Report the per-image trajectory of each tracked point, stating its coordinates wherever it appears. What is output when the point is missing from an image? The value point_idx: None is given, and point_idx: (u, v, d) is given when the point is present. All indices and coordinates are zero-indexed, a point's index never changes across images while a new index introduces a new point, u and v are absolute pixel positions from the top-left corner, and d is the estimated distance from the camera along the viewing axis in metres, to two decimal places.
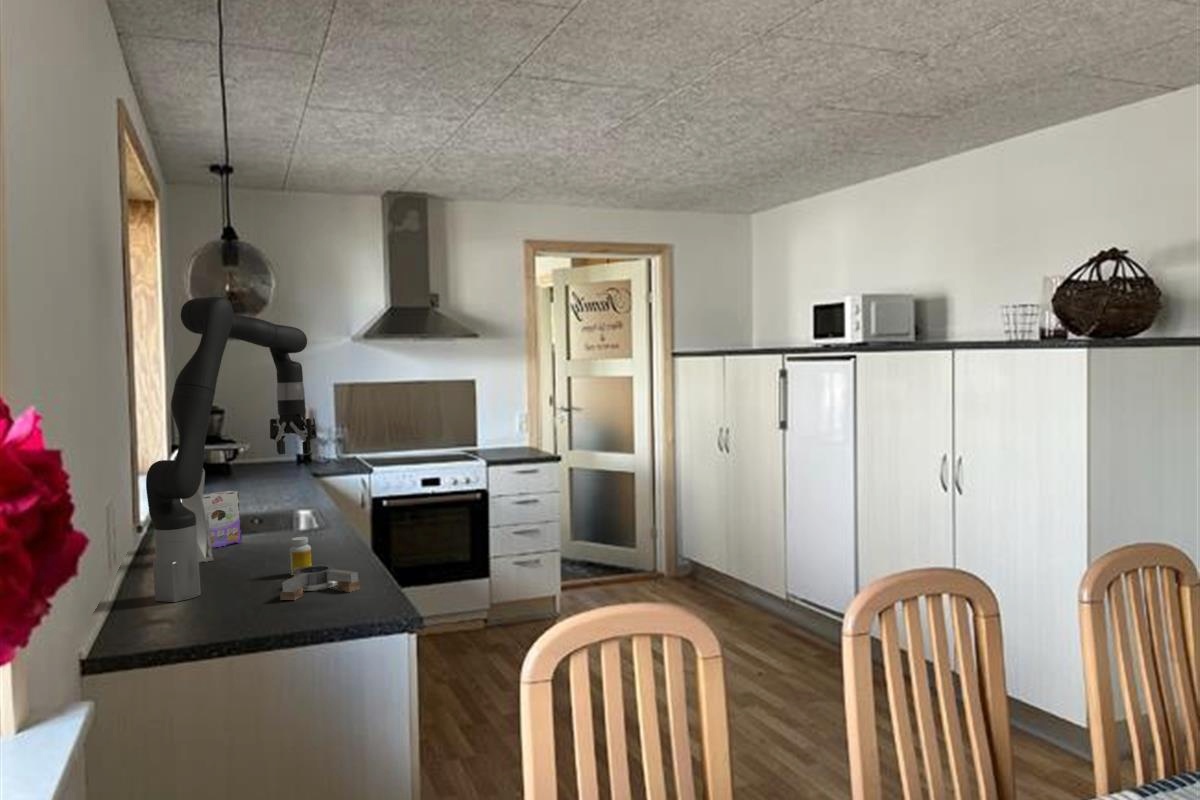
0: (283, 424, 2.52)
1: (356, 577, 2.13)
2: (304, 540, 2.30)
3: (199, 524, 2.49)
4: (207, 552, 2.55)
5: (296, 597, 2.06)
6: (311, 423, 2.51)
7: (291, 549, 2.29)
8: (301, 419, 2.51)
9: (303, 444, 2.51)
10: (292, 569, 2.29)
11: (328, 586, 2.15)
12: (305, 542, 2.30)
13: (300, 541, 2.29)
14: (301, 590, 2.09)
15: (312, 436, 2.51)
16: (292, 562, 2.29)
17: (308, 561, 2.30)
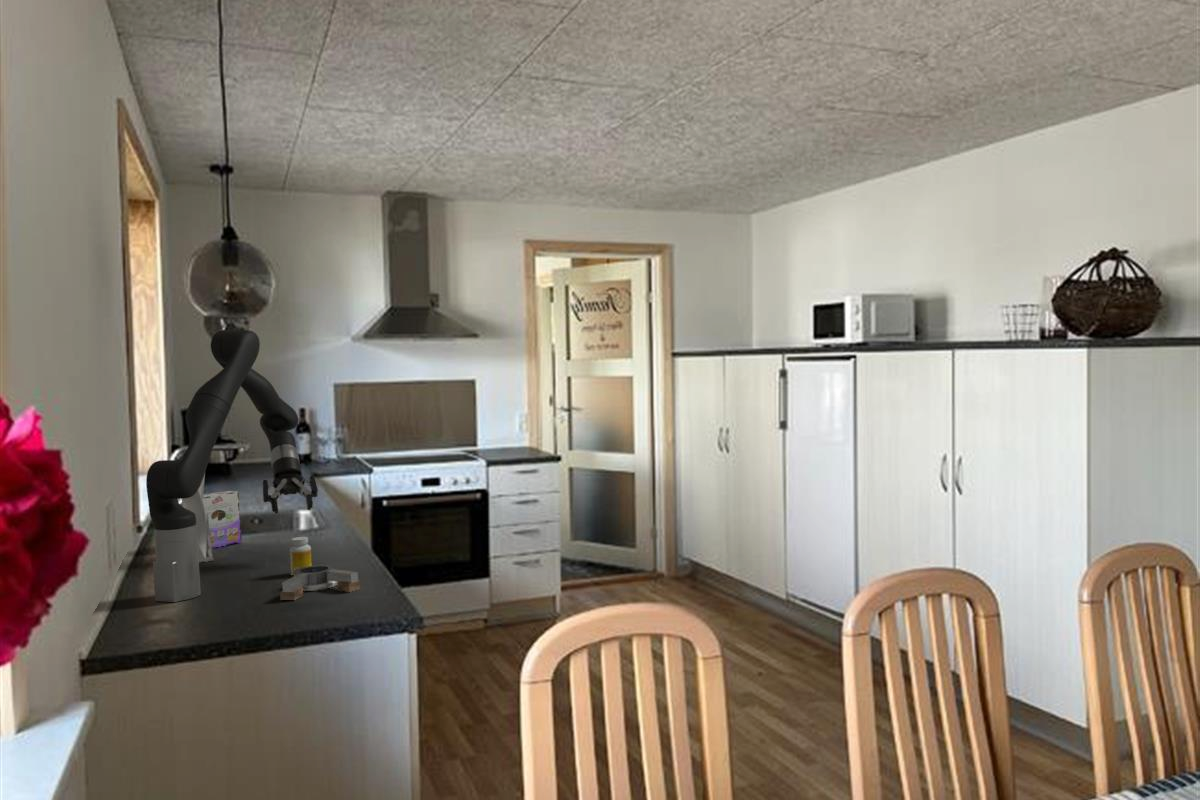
0: (283, 480, 2.44)
1: (356, 577, 2.13)
2: (304, 540, 2.30)
3: (199, 524, 2.49)
4: (207, 552, 2.55)
5: (296, 597, 2.06)
6: (314, 481, 2.49)
7: (291, 549, 2.29)
8: None
9: (308, 497, 2.44)
10: (292, 569, 2.29)
11: (328, 586, 2.15)
12: (305, 542, 2.30)
13: (300, 541, 2.29)
14: (301, 590, 2.09)
15: None
16: (292, 562, 2.29)
17: (308, 561, 2.30)
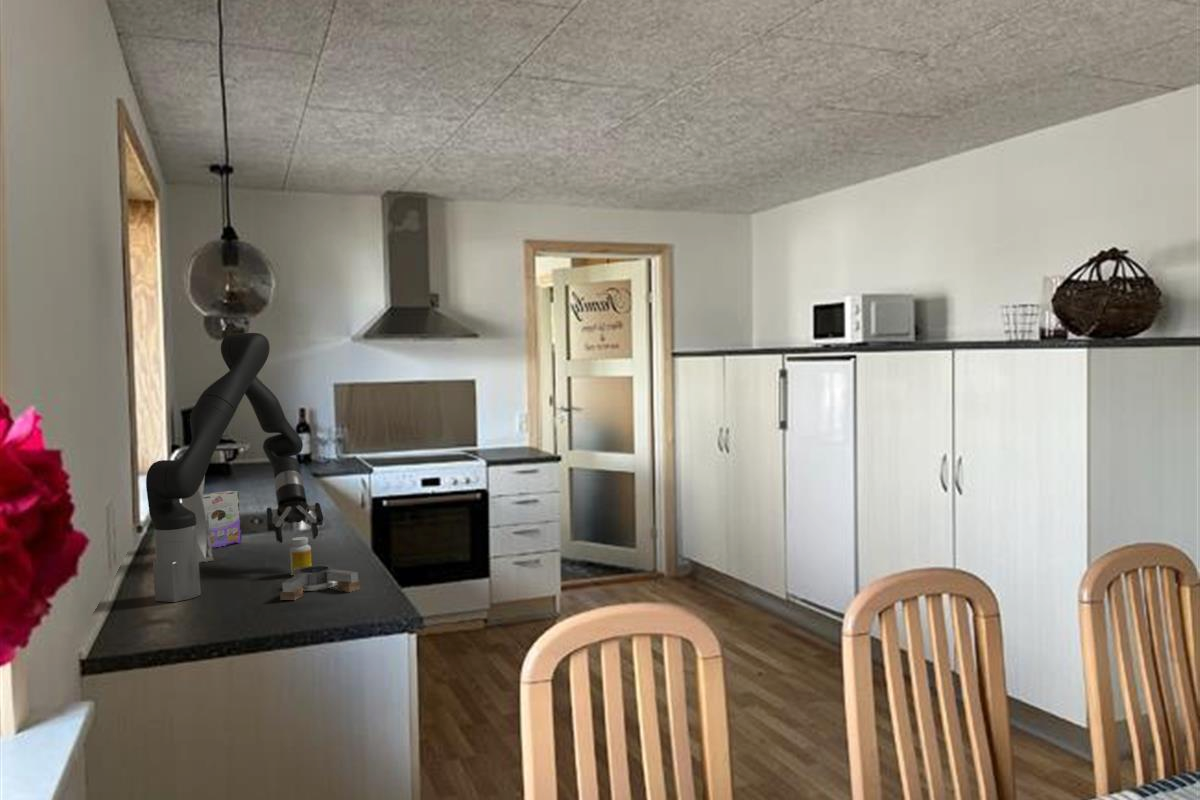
0: (287, 508, 2.37)
1: (356, 577, 2.13)
2: (304, 540, 2.30)
3: (199, 524, 2.49)
4: (207, 552, 2.55)
5: (296, 597, 2.06)
6: None
7: (291, 549, 2.29)
8: (308, 505, 2.41)
9: (313, 525, 2.37)
10: (292, 569, 2.29)
11: (328, 586, 2.15)
12: (305, 542, 2.30)
13: (300, 541, 2.29)
14: (301, 590, 2.09)
15: None
16: (292, 562, 2.29)
17: (308, 561, 2.30)
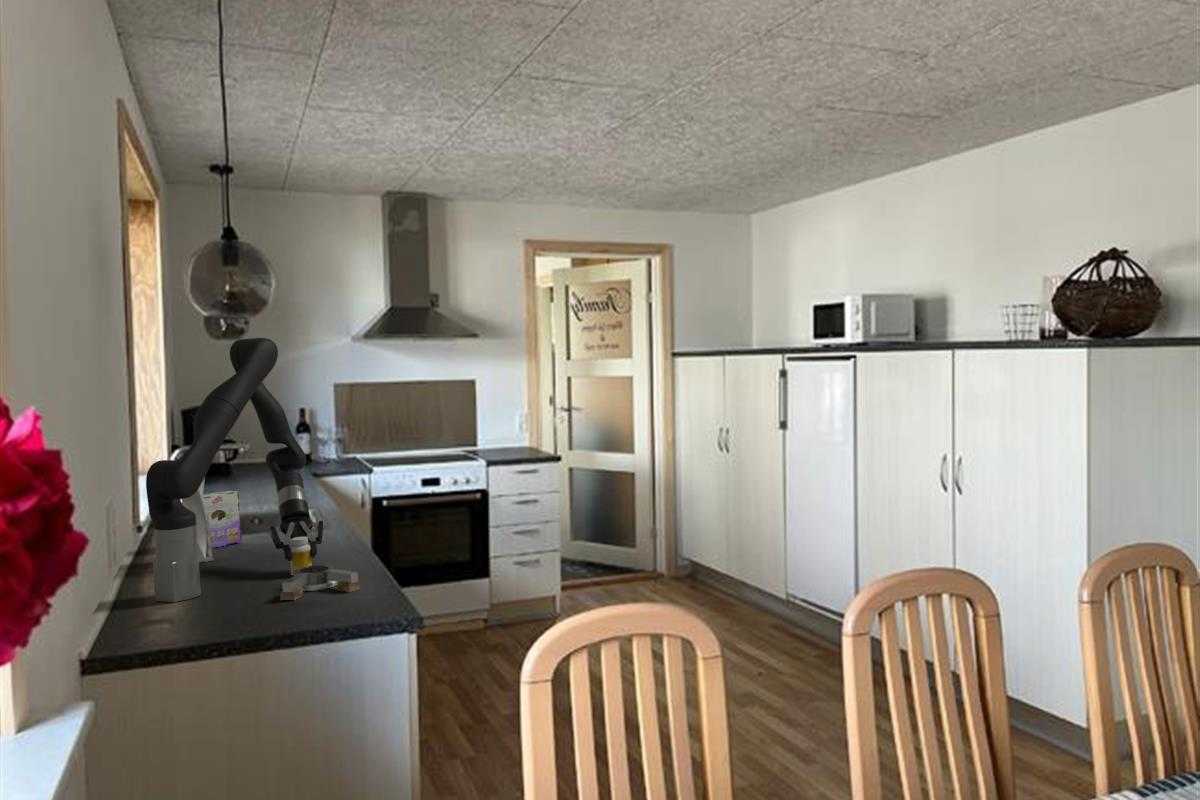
0: (291, 524, 2.33)
1: (356, 577, 2.13)
2: (304, 540, 2.29)
3: (199, 524, 2.49)
4: (207, 552, 2.55)
5: (296, 597, 2.06)
6: (322, 527, 2.37)
7: (291, 549, 2.29)
8: (312, 521, 2.37)
9: (312, 544, 2.32)
10: (292, 569, 2.29)
11: (328, 586, 2.15)
12: (305, 542, 2.30)
13: (300, 541, 2.29)
14: (301, 590, 2.09)
15: None
16: (292, 562, 2.29)
17: (308, 561, 2.30)
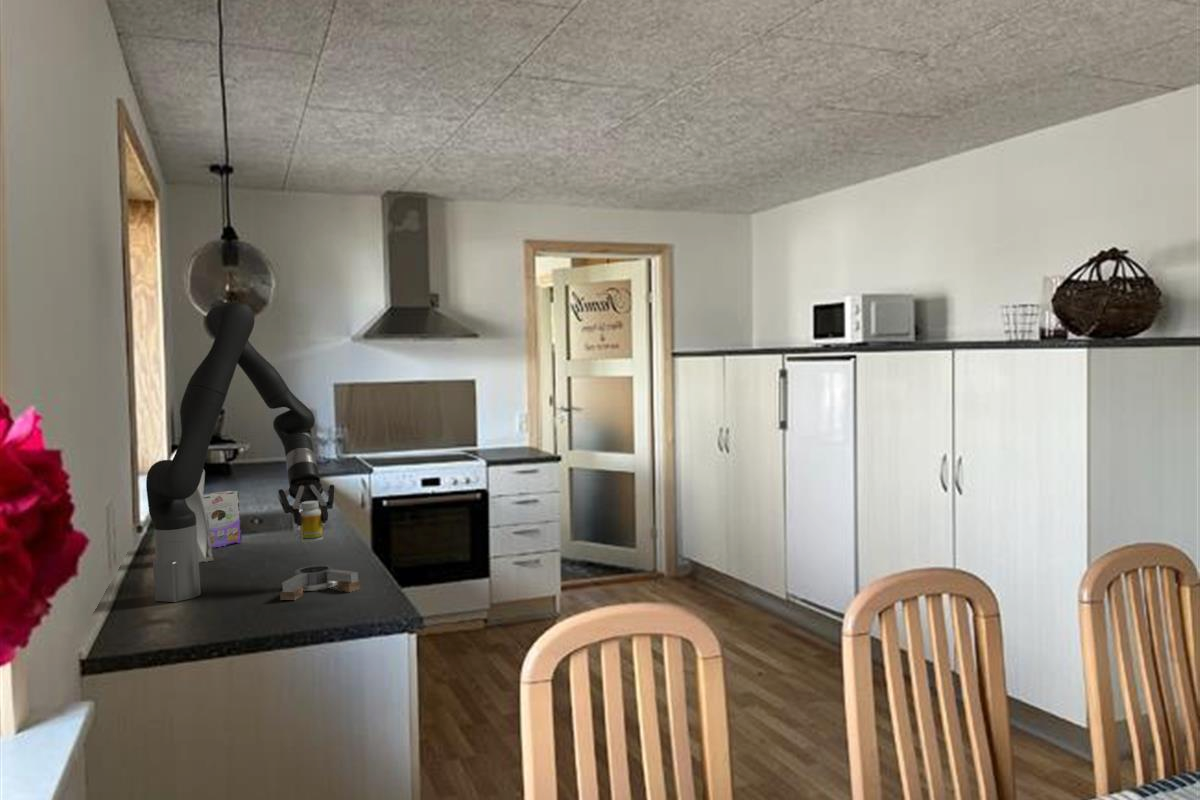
0: (300, 488, 2.21)
1: (356, 577, 2.13)
2: (314, 504, 2.18)
3: (199, 524, 2.49)
4: (207, 552, 2.55)
5: (296, 597, 2.06)
6: (333, 491, 2.25)
7: (301, 513, 2.17)
8: (322, 485, 2.25)
9: (323, 509, 2.20)
10: (302, 534, 2.17)
11: (328, 586, 2.15)
12: (315, 506, 2.18)
13: (310, 505, 2.17)
14: (301, 590, 2.09)
15: None
16: (302, 527, 2.17)
17: (319, 526, 2.18)
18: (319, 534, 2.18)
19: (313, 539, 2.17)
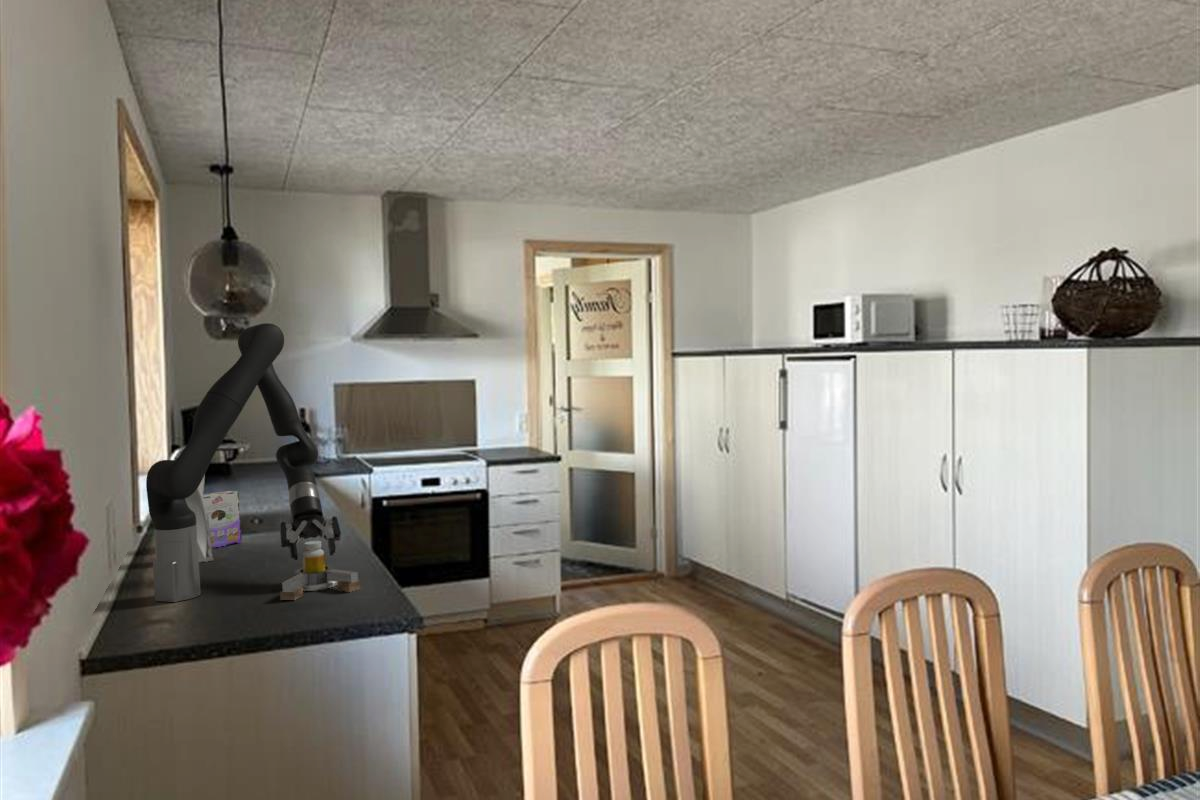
0: (303, 523, 2.21)
1: (356, 577, 2.13)
2: (317, 544, 2.18)
3: (199, 524, 2.49)
4: (207, 552, 2.55)
5: (296, 597, 2.06)
6: None
7: (304, 554, 2.17)
8: (324, 519, 2.25)
9: (330, 541, 2.20)
10: None
11: (328, 586, 2.15)
12: (318, 546, 2.18)
13: (313, 545, 2.17)
14: (301, 590, 2.09)
15: None
16: (305, 567, 2.17)
17: (322, 567, 2.18)
18: None
19: None
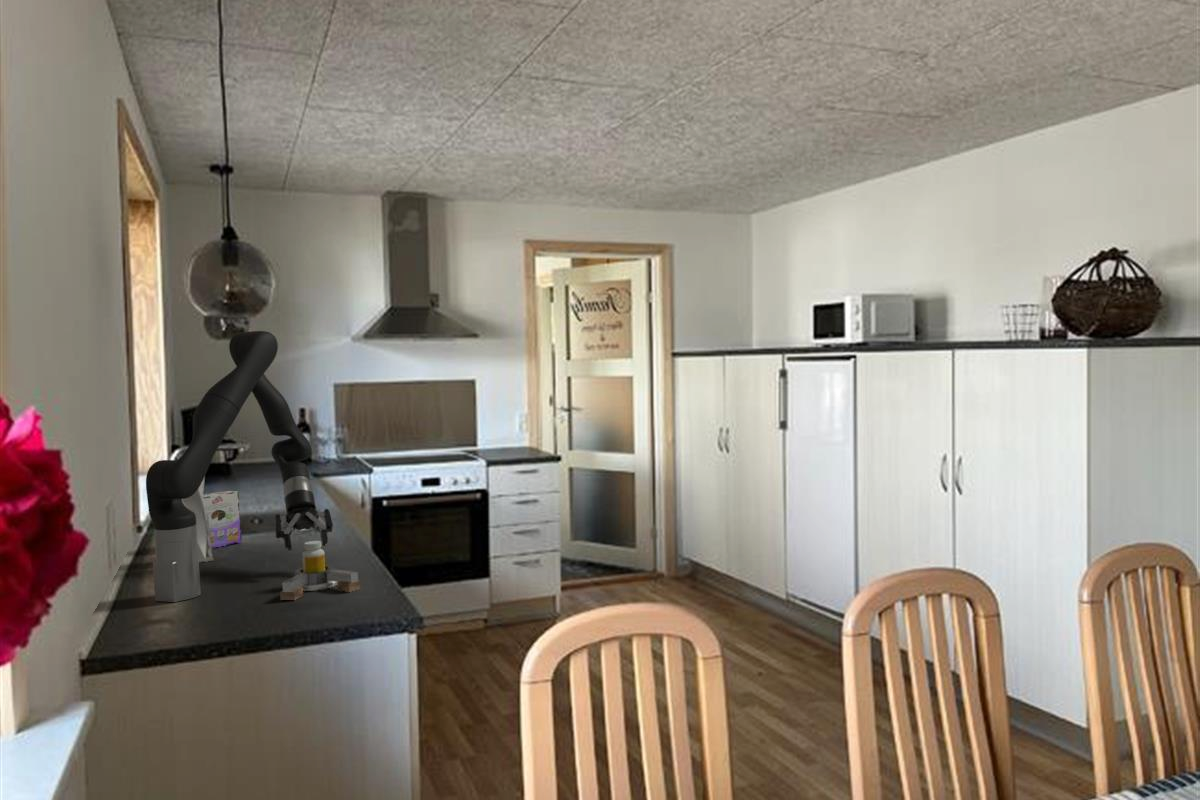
0: (296, 515, 2.32)
1: (356, 577, 2.13)
2: (317, 544, 2.17)
3: (199, 524, 2.49)
4: (207, 552, 2.55)
5: (296, 597, 2.06)
6: (329, 514, 2.37)
7: (304, 554, 2.17)
8: (317, 511, 2.36)
9: (322, 532, 2.32)
10: None
11: (328, 586, 2.15)
12: (318, 546, 2.18)
13: (313, 545, 2.17)
14: (301, 590, 2.09)
15: None
16: (305, 567, 2.17)
17: (322, 567, 2.18)
18: None
19: None
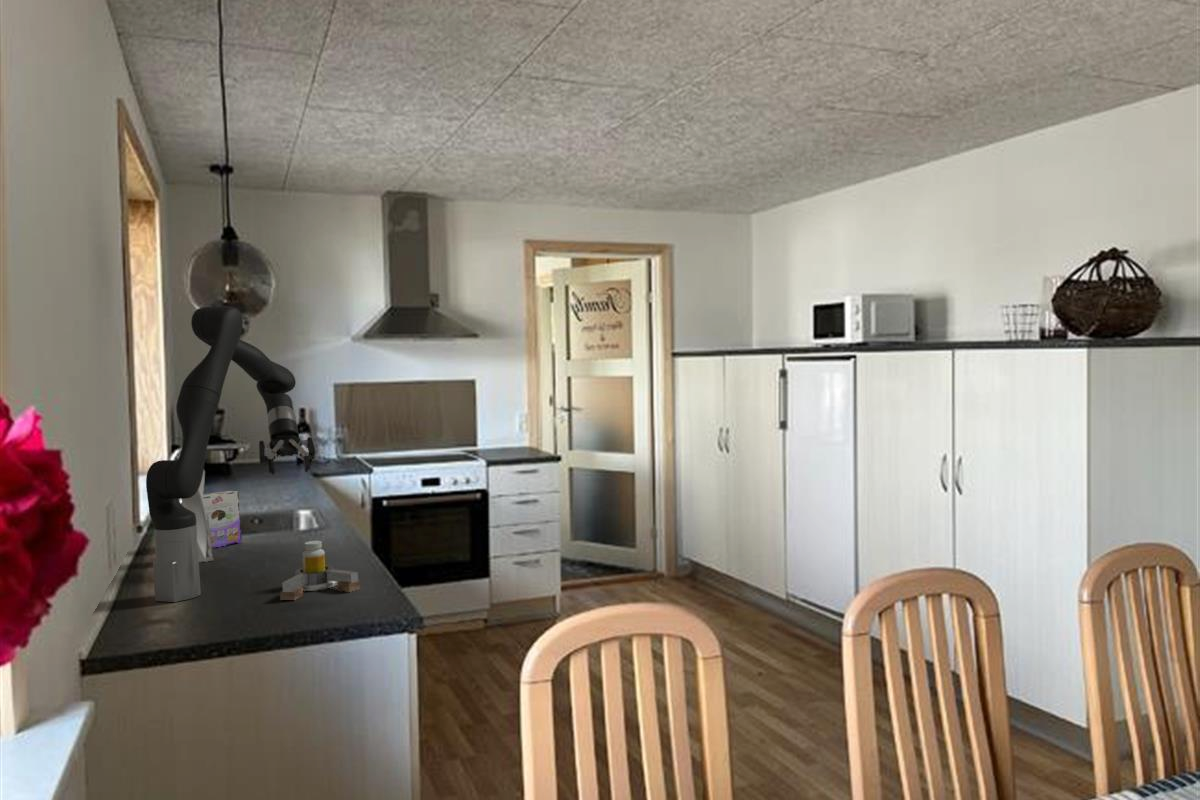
0: (280, 442, 2.38)
1: (356, 577, 2.13)
2: (318, 544, 2.17)
3: (199, 524, 2.49)
4: (207, 552, 2.55)
5: (296, 597, 2.06)
6: None
7: (304, 554, 2.17)
8: (300, 439, 2.42)
9: (305, 458, 2.38)
10: None
11: (328, 586, 2.15)
12: (319, 546, 2.18)
13: (313, 545, 2.17)
14: (301, 590, 2.09)
15: None
16: (305, 567, 2.17)
17: (322, 567, 2.18)
18: None
19: None
